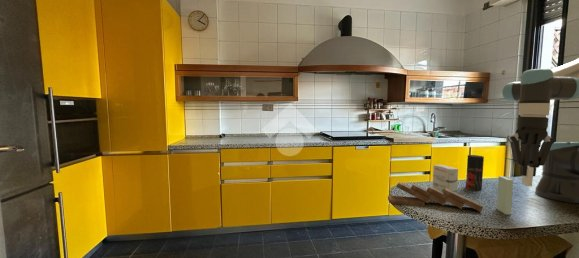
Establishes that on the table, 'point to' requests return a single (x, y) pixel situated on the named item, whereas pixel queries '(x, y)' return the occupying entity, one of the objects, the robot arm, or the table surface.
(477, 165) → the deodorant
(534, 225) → the table surface
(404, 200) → the domino
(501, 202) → the domino
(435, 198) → the domino
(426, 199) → the domino
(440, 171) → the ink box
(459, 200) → the domino
